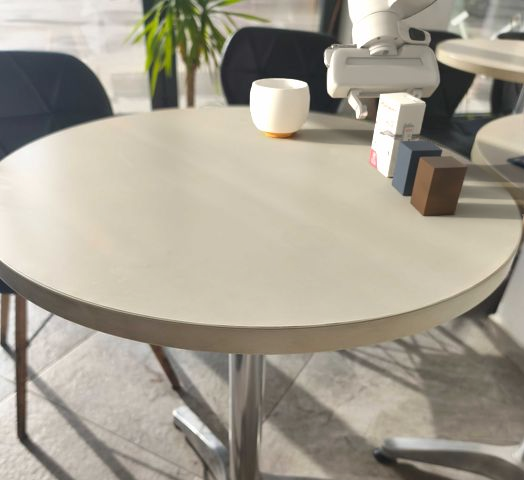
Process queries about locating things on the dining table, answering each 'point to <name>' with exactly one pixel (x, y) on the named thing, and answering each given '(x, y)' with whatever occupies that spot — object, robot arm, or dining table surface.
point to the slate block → (411, 163)
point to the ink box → (395, 128)
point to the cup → (279, 105)
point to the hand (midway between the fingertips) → (387, 116)
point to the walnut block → (438, 185)
